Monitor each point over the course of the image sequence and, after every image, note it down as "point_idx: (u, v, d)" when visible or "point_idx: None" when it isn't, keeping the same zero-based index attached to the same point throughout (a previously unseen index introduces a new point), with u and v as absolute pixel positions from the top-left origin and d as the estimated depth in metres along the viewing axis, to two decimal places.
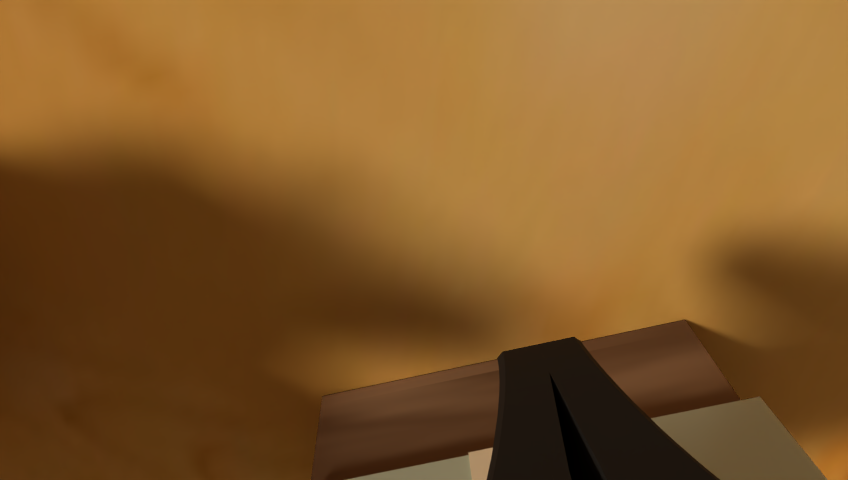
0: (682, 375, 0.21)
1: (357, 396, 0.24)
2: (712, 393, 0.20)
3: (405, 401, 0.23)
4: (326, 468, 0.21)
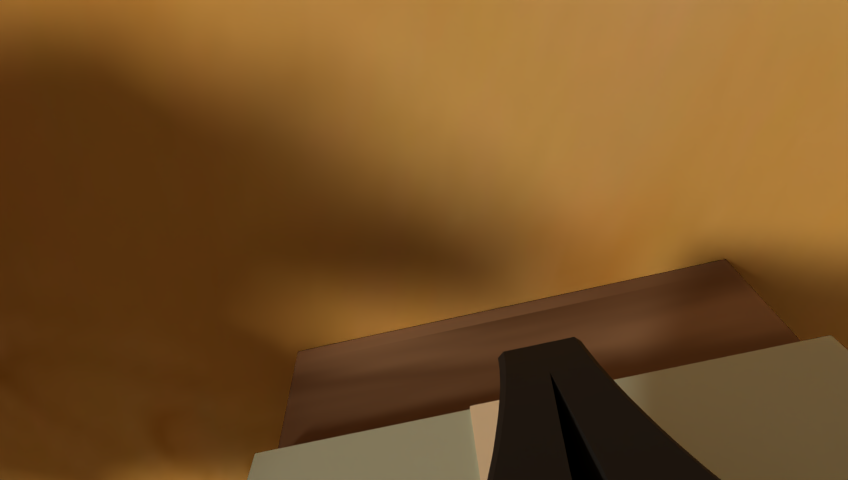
0: (727, 318, 0.18)
1: (337, 350, 0.20)
2: (766, 336, 0.17)
3: (394, 354, 0.20)
4: (298, 430, 0.18)
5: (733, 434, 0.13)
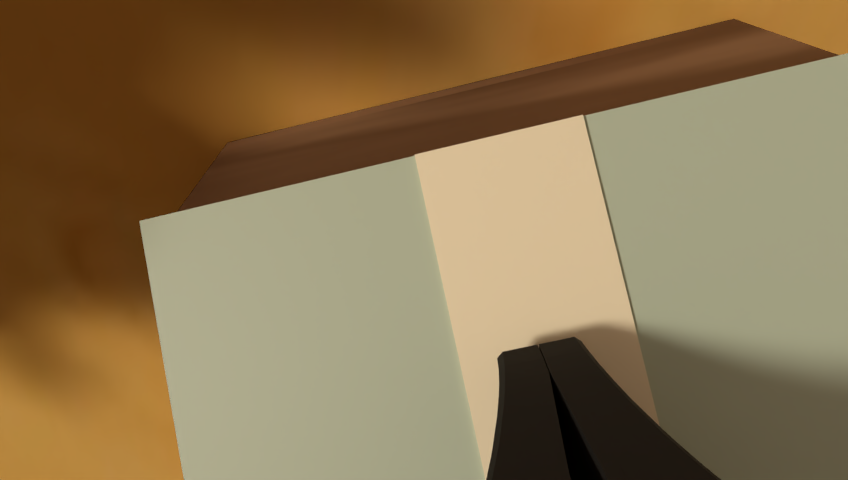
0: (735, 51, 0.14)
1: (272, 135, 0.17)
2: (784, 55, 0.13)
3: (336, 129, 0.16)
4: (209, 190, 0.14)
5: (732, 217, 0.11)
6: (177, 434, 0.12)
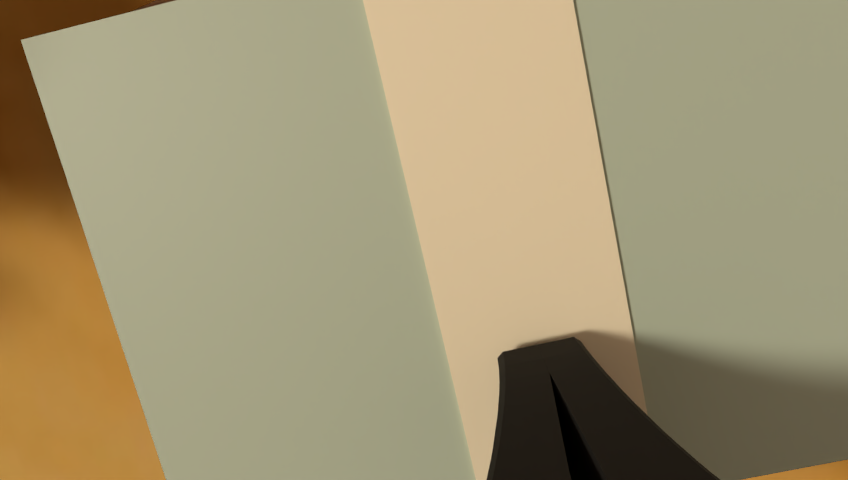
0: None
1: None
2: None
3: None
4: None
5: (717, 30, 0.10)
6: (103, 283, 0.11)
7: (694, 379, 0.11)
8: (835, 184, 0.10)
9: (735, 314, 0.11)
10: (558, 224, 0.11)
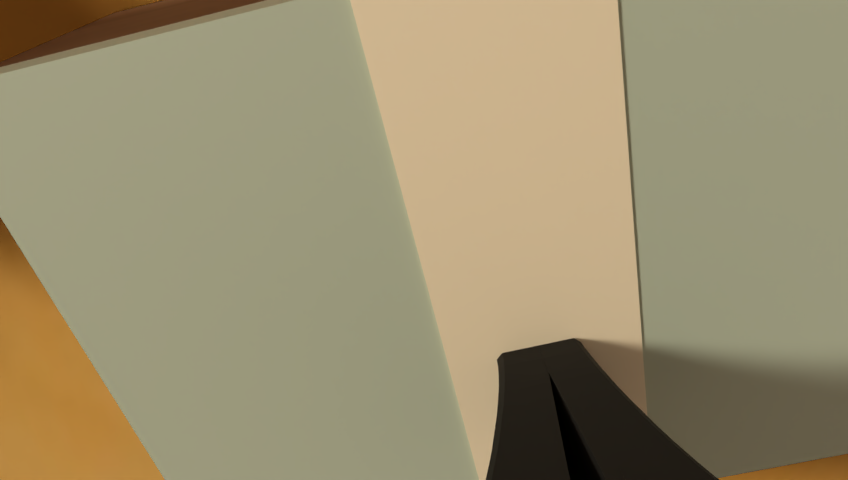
0: None
1: None
2: None
3: None
4: (55, 43, 0.10)
5: (782, 78, 0.08)
6: (82, 345, 0.10)
7: (697, 405, 0.11)
8: None
9: (747, 351, 0.11)
10: (579, 281, 0.10)
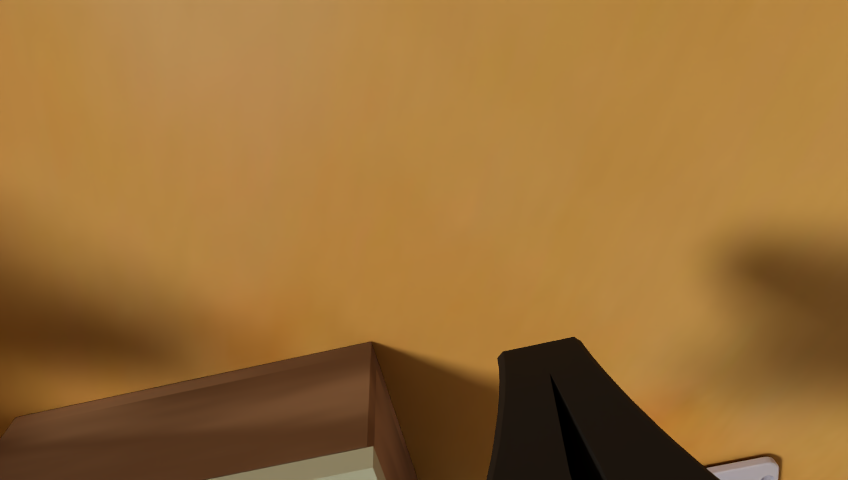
0: (333, 400, 0.21)
1: (44, 417, 0.24)
2: (347, 419, 0.20)
3: (82, 424, 0.23)
4: None
5: None
6: None
7: None
8: None
9: None
10: None
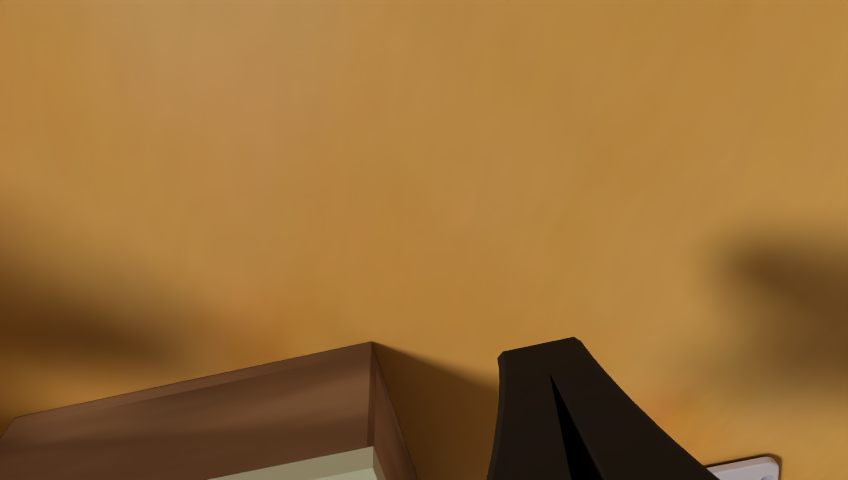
0: (333, 400, 0.21)
1: (44, 417, 0.24)
2: (347, 420, 0.20)
3: (82, 424, 0.23)
4: None
5: None
6: None
7: None
8: None
9: None
10: None
